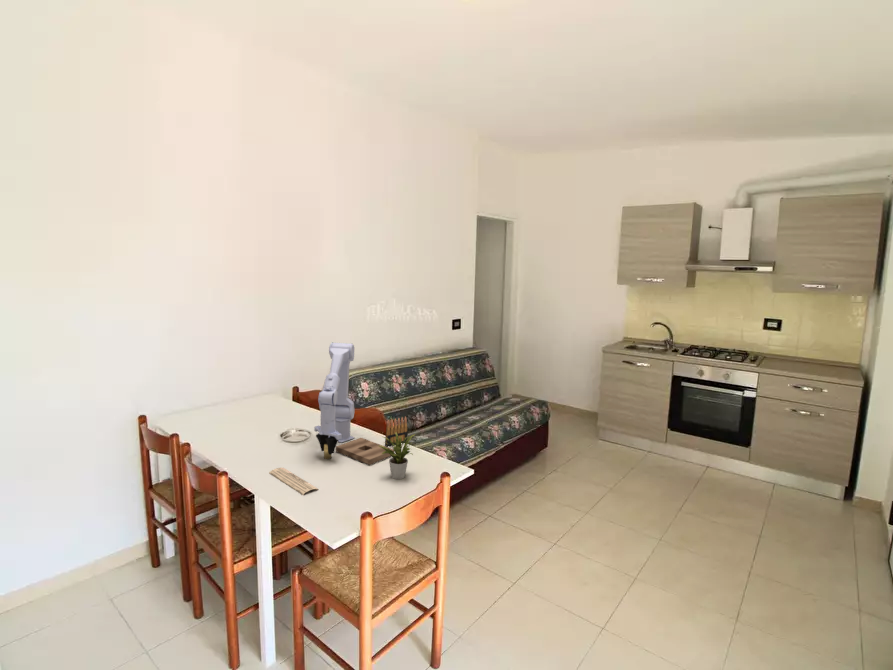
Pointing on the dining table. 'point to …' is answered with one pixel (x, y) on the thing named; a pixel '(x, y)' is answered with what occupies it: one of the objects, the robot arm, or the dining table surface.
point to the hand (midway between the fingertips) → (327, 452)
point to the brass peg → (326, 452)
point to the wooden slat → (292, 480)
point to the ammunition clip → (396, 431)
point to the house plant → (398, 457)
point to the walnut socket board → (363, 451)
